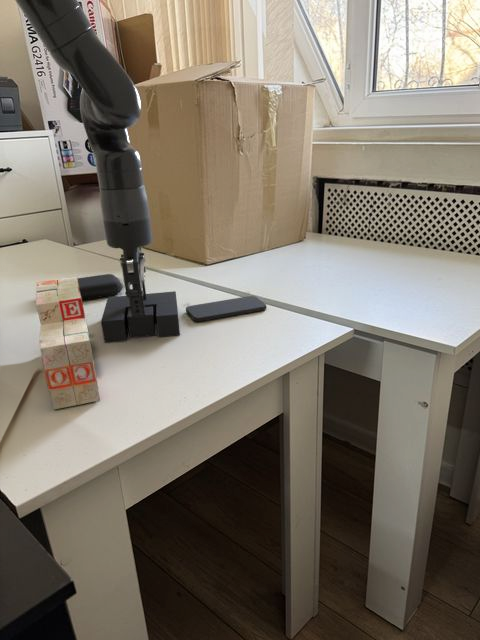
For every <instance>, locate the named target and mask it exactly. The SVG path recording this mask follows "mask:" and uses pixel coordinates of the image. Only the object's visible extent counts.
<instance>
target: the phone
mask: <svg viewBox="0 0 480 640" xmlns="http://www.w3.org/2000/svg"><path fill="white" fill-rule="evenodd" d="M266 309H267V304H266V303H265V302H264V301H262V300H261V299H260V298H258V297H257V296H253V295H248V296H242V297H235V298H229V299H224V300H216V301H211V302H205V303H198V304H193V305H187V306H186V307H185V312H186V314H188V316H189V317H190V318H191V319H192V320H193V321H195V322H203V321H209V320H214V319H221V318H227V317H233V316H238V315H243V314H248V313H249V314H250V313H255V312H260V311H261V312H262V311H265V310H266Z"/></svg>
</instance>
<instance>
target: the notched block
mask: <svg viewBox="0 0 480 640" xmlns="http://www.w3.org/2000/svg"><path fill="white" fill-rule="evenodd" d="M151 306H153V310H154V317H155V325H156V326H157V327H156V328H157V335H158V338H166V337H177V336H180V335H181V331H180V321H179V310H178V301H177V292H176V290H174V291H165V292H164V291H163V292H151V293H146V300H145V301H144V307H151ZM129 308H131V307H130V300H129V297H127V296H126V295H119V296H118V295H117V296H116V295H115V296H107V298H106V303H105V306H104V310H103V313H102V317H101V320H100V325H101V329H102V335H103V340H104V343H116V342H125V341H127V339H128V334H129V333H128V332H129V326H128V320H127V315H128V309H129Z"/></svg>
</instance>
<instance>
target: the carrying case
mask: <svg viewBox="0 0 480 640" xmlns="http://www.w3.org/2000/svg"><path fill="white" fill-rule="evenodd" d="M77 279H78V284H79V289H80V294H81V298H82V301H85V300H86V301H87V300H92V299H98V298H105V297H111V296H116V295H119V294H120V293H121V291H122V290H123V287H124V286H123V284H122V283H121V281H120V280H119V278H118V277H117V276H115V275H114V274H112V273H106V274H98V275H92V276H91V275H90V276H84V277H77Z"/></svg>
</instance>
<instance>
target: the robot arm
mask: <svg viewBox="0 0 480 640" xmlns="http://www.w3.org/2000/svg"><path fill="white" fill-rule="evenodd" d="M14 1H15V3H16V4H17V5H18V8H19V9H20V10H21V12H22V13H23V14H24V16H25V18H26V20H27V21H28V22H29V24H30V25H31V27H32V29H33V30H34V32H35V33H36V35H37V36H38V38H39V39H40V41H41V42H42V44H43V45H44V47H45V49H46V51H47V52H48V53H49V55H50V57H51V58H52V59H53V60H54V63H56V64H57V66H58V67H59V68H60V69H61V70H63V71H64V72H67V73H68V74H70V75H72V76H73V78H74V79H75V81H76V82H77V83H78V84H79V86H80V87H81V89H82V90H81V92H80V95H79V109H80V110H79V111H80V117H81V121H82V124H83V128H84V130H85V134H86V137H87V140H88V143H89V146H90V148H91V152H92V153H93V156H94V160H95V167H96V174H97V181H98V187H99V200H100V209H101V216H102V222H103V227H104V234H105V239H106V244H107V246H108V247H109V248H112V249H121V250H122V253H121V254H120V257H119V266H120V268H121V272H122V273H121V274H122V281H123V283H124V288H125V289H124V290H125V296H127V297H129V300H130V307H131V313H132V317H133V318H140V317H144V316H145V308H144V301H145V300H146V294H147V291H146V283H145V282H146V279H145V278H146V274H145V273H146V272H147V270H146V269H147V268H146V255H145V254H146V253H145V252H143V250H142V247H146V246H148V245H150V244H152V243H153V241H154V240H153V239H154V238H153V230H152V223H151V221H152V220H151V214H150V206H149V200H148V195H147V192H146V191H147V190H146V186H145V180H144V171H143V164H142V157H141V155H140V152H139V151H138V150H137V149H136V148H135V147H134V146H132V144H131V142H130V137H129V133H128V129H130V128H132V127H133V126H135V125H136V124H137V123H138V121H139V120H140V118H141V114H142V101H141V98H140V94H139V92H138V89H137V87H136V85H135V84H134V81H133V80H132V79H131V77H130V75H129V74H128V73H127V72H126V70H125V69H124V68H123V66H122V65H121V64H120V63H119V61H118V60H117V59H116V57H115V56H114V55H113V54H112V53H111V52H110V50H109V49H108V48H107V46H105V44H103V42H102V41H101V39H100V37H98V35H97V33H96V30H95V29H94V27H93V26H92V23H91V21H90V20H89V18H88V17H87V15H86V13H85V11H84V9H83V8H82V6H81V5H80V2H79V1H78V0H14ZM131 286H132V288H131Z"/></svg>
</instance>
